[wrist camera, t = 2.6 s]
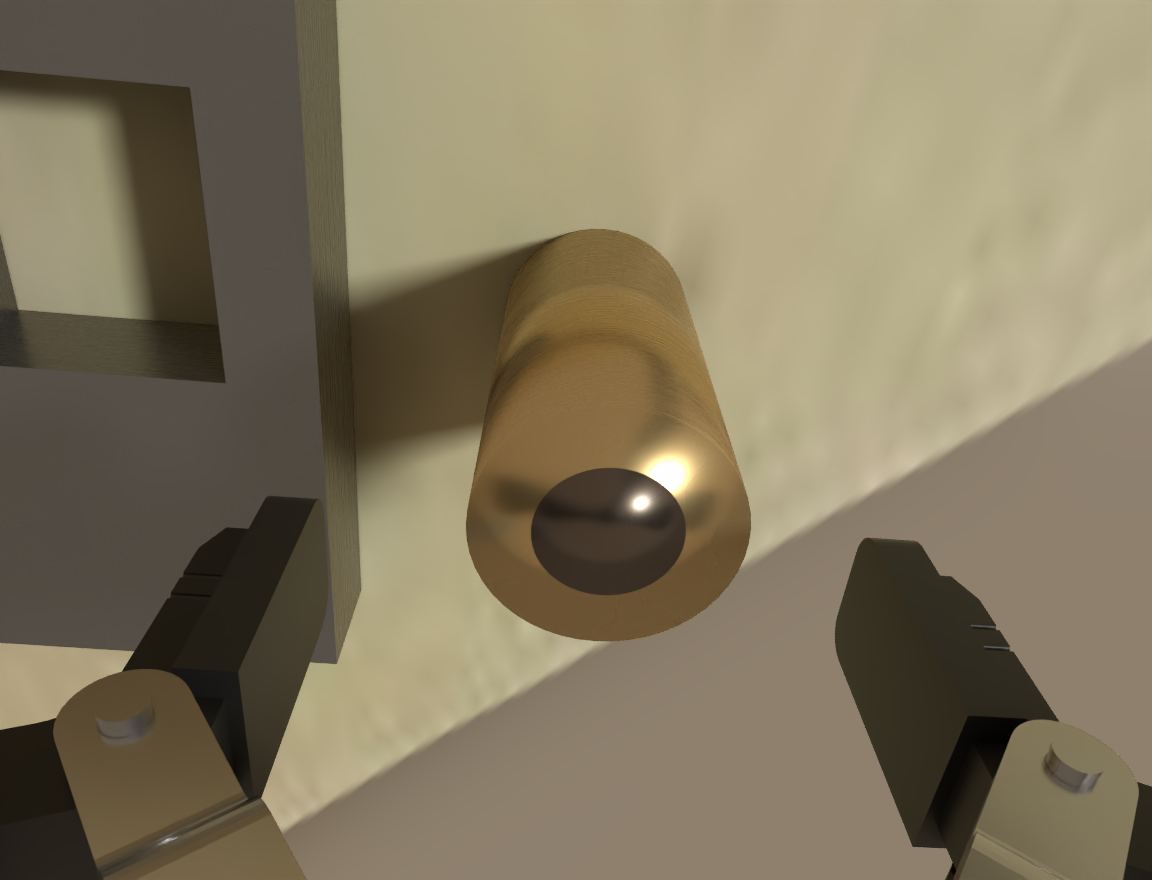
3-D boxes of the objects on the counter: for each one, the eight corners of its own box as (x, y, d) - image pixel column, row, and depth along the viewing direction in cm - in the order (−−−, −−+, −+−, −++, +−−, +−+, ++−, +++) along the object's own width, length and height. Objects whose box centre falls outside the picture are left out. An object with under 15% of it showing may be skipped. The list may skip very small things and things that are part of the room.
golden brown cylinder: (511, 220, 20) (469, 396, 12) (699, 237, 20) (776, 421, 13) (502, 391, 22) (462, 632, 15) (672, 404, 23) (725, 649, 15)
